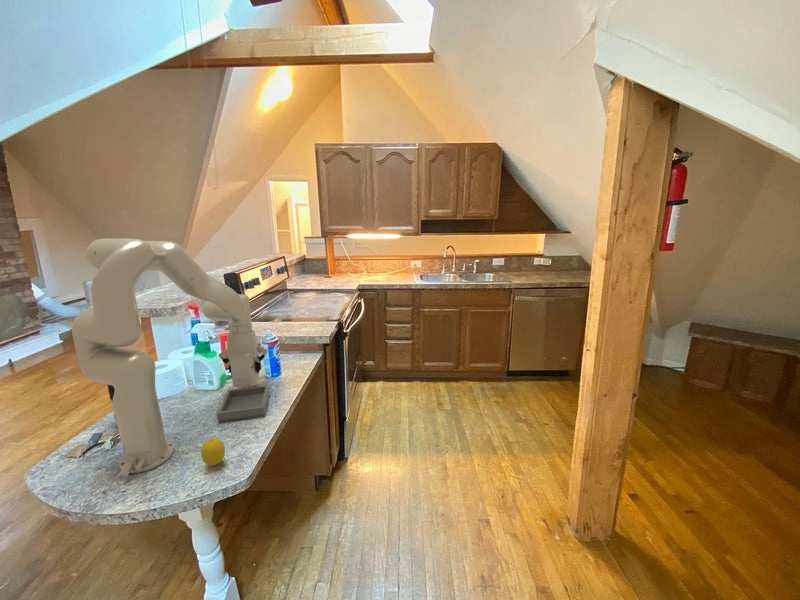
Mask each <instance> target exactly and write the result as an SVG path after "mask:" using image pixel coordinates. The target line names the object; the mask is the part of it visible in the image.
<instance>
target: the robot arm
mask: <svg viewBox="0 0 800 600" xmlns="http://www.w3.org/2000/svg"><path fill="white" fill-rule="evenodd" d="M85 258H86V260H87V261H88V263H89V264H90V265H91V266H92V267H93V268H95V269H97V271H96V272H95V274H94V276H93V277H92V281H91V285H90V296H91V303H92V307H89V308H86V309H84V310H82V311H81V312H80V313H78V314H77V316H76V317H75V318H74V320H73V323H72V327H71V334H72V338H73V339H72V340H73V344H74V348H75V349H74V350H75V352H76V356H77V359H78V361H77V362H78V365H79V368H80V370H81V372H82V374H83V376H84V377H85V378H86V379H87V380H88V381H91V382H94V383H98V384H104V385H107V384H108V385H112V386H114V389H115V392H114V396H113V401H111V402H112V408H113V409H112V410H113V415H114V414H115V417H114V419H115V418H116V420H115V422H117V423H116V427H117V426H118V427H117V431H118V433H119V439H120V443H121V446H122V450H123V456H122V457H120V459H119V462H118V467H119V470H120V471H119V474H120V476H123V477H125V476H128V475H129V474H137V473H142V472H143V473H144V472H147V471H149V470H152V469H154V468H157V467H158V466H160V465H162V464H163V463H165V462H167V461H168V460H170V458H171V457H172V456H173V454H174V453H175V445H174V443H173V442H172V441H170V440H167V439H166V438H167V437H166V433H165V428H164V423H163V419H162V414H161V408H160V404H159V400H158V395H157V389H156V388H157V387H156V372H157V371H156V370H157V368H156V362H155V360H154V358H153V357H152V356H151V355H150V354H149V353H147V352H144V351H142V350H138V349H131V348H126V347H129V346H132V345H135V344H136V343H137V342H138V341H139V340H140V338H141V336H142V324H141V319H140V312H139V309H138V303H137V297H136V285H137V283H138V281H139V278H140V277H141V276H142V275H143V273H144V272H146V271H159V272H161V273H162V274H164V275H165V277H167V278H168V279H169V280H170V281H172V283H174V285H176V286H177V287H178V289H180V290H181V291H182V292H183V293H184V294H185V295H188V296H191V297H194V298H197V299H198V300H199V299H200V300H203V301H206V302H205V303H204V305H203V307H202V314H203V315H204V317H205V318H207V319H209V320H211V321H218V322H228V325H227V326H226V325H225V327H224V330H225V331H228V332H227V336H226V348H225V349H224V350H223V351H221V352H220V353H218V355H217V356H218V357H219V358H220V359H221V361H222V362H223V363H225V364H226V365H227V366H228V372H229V373H230V376H231V377H232V373H231V364H230V360H231V356H232V355H241V354H251V357H252V359H255V361H256V371H257V373H259V374H260V371H261V370H262V363H261V361H263V360H264V358H265V357H266V355H267V354H268V349H267V348H265V347H263V346H261V345H258V340H257V339H258V338H257V336H256V332H255V330H254V329H253V323H252V316H251V305H250V298H249V296H248V295H247V294H245V293H243V294H242V293H241V294H240V293H239V294H238V293H237V291H235V290H234V289H233V288H232V287H230V286H228V285H226V283H223V282H221V281H220V280H218V279H217V278H215V277H213V276H212V275H210V274H208V273H206V272H205V270H204V269H203V268H202V266H200V265H199V264H198V263H197V261H196V260H195V259H194V258H193V257H192V256H191V255H190V254H189V253H188V252H187V251H186V250H185V249H184V248H183V247H182V246H181V245H180V244H178V243H176V242H175V241H167V240H163V241H162V240H142V239H137V238H129V237H128V238H127V237H125V238H124V237H123V238H99V239H95V240H93V241H92V242H90V244H89V245H88V246H87V247H86V251H85ZM124 347H125V348H124ZM259 352H261V354H260V355H259ZM226 354H227V355H226ZM225 355H226V356H227V357H226V356H225Z"/></svg>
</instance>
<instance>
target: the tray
mask: <svg viewBox="0 0 800 600" xmlns="http://www.w3.org/2000/svg"><path fill="white" fill-rule="evenodd" d="M270 394H271V392H270V385H269V384H265V385H257V386H253V387H239V388H233V389H227V391H226V393H225V395H224V398H223V399H222V402H221V404H220V406H219V409H218V410H217V413H216V417H217V422H218V424H223V423H222V422H225V423H230V422H238V421H244V420H245V421H246V420H251V419H258V418H265V415H266V412H267V408H268V403H269V399H270Z"/></svg>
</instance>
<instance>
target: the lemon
mask: <svg viewBox="0 0 800 600" xmlns="http://www.w3.org/2000/svg"><path fill="white" fill-rule="evenodd" d="M200 455H201V459H202V461H203V463H205V465H206V466H207V465H208V466H211V467H212V466H217V465H218V464H220V463H221V462H222V461H223V459H224V458H225V456H226V448H225V445H224V443H223V441H222V440H220V438H216V437H213V438H212V437H211V438H209V439H208V440H206V441H205V442H204V443H203V444H202V447H201V453H200Z"/></svg>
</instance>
